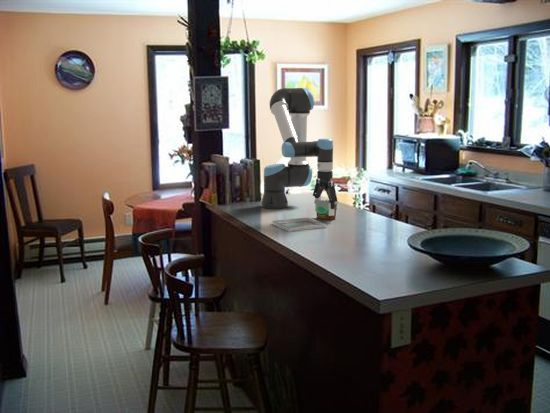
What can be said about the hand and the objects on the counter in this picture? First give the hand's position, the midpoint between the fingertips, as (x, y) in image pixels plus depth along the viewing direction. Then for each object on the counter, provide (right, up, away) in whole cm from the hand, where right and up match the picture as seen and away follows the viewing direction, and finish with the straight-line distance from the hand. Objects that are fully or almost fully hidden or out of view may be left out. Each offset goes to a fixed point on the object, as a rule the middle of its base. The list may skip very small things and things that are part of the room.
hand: (324, 213), depth 298 cm
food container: (0, -3, +1) cm, 4 cm away
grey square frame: (-13, -6, -13) cm, 20 cm away
